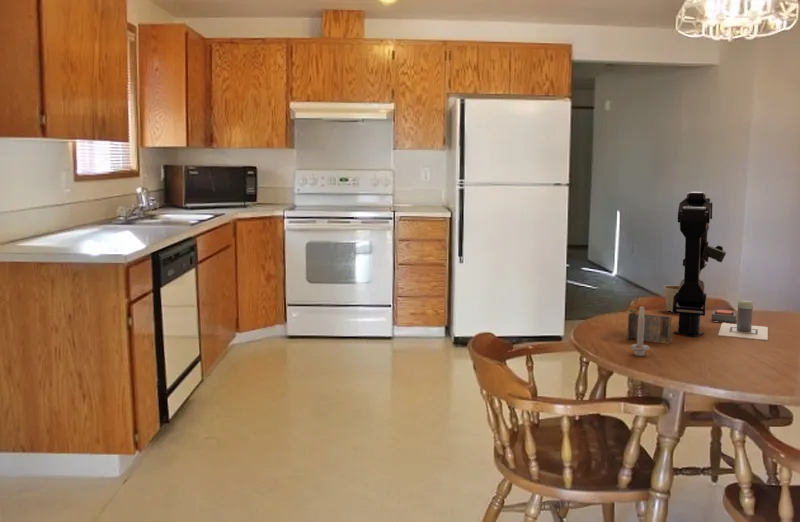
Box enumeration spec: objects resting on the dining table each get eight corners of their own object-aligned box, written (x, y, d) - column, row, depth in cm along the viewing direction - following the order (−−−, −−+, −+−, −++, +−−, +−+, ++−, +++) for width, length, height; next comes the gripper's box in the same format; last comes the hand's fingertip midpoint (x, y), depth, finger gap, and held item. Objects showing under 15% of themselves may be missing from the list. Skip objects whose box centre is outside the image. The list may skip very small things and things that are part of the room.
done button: (731, 320, 227) (731, 313, 226) (716, 318, 229) (716, 311, 228) (731, 317, 231) (732, 310, 230) (716, 316, 233) (717, 309, 232)
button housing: (735, 324, 225) (735, 316, 225) (711, 321, 228) (711, 314, 228) (735, 320, 231) (736, 312, 231) (712, 318, 234) (713, 310, 234)
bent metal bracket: (626, 340, 202) (628, 307, 201) (629, 338, 205) (630, 305, 204) (668, 345, 197) (670, 311, 196) (670, 343, 199) (672, 309, 198)
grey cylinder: (747, 332, 211) (749, 303, 210) (733, 330, 214) (735, 301, 213) (754, 330, 213) (755, 301, 212) (740, 328, 216) (741, 299, 215)
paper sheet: (767, 340, 202) (767, 339, 202) (718, 335, 208) (718, 334, 208) (767, 327, 219) (767, 326, 219) (721, 323, 225) (722, 322, 225)
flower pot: (695, 314, 240) (696, 289, 239) (667, 314, 240) (668, 289, 239) (684, 309, 250) (686, 285, 249) (658, 309, 250) (659, 285, 249)
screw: (632, 356, 182) (628, 352, 187) (651, 357, 181) (646, 352, 186) (634, 307, 180) (630, 304, 185) (653, 307, 180) (649, 304, 185)
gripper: (723, 240, 210) (720, 292, 212) (726, 236, 227) (723, 284, 229) (683, 239, 215) (681, 289, 217) (689, 235, 232) (687, 281, 234)
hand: (694, 286), depth 224 cm, fingers closed
